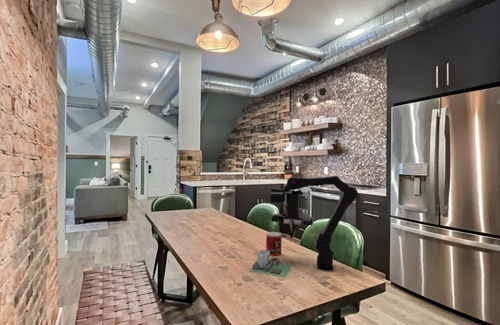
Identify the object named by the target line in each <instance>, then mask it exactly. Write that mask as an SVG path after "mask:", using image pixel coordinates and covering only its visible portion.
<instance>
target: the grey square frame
mask: <svg viewBox="0 0 500 325" xmlns="http://www.w3.org/2000/svg"><path fill="white" fill-rule="evenodd" d="M257 261H258V259H257V260H256V261H255V262H254V263H253V264H252V267H253V269H254V270H259V265H257ZM272 266H273V261H272V260H271V261H270V259H269V265H268V266H263V271H267V272H269V271H270V269H271V268H272Z"/></svg>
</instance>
